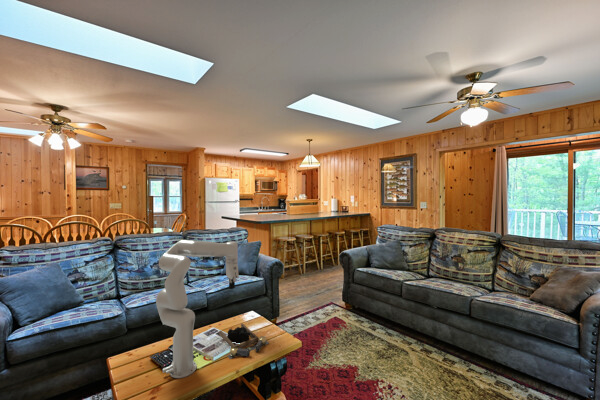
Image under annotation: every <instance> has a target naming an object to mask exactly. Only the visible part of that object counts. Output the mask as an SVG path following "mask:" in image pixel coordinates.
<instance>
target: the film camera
mask: <svg viewBox="0 0 600 400" xmlns="http://www.w3.org/2000/svg"><path fill="white" fill-rule="evenodd" d="M249 335H250V333H249V332H247V330H246V328H244V327H241V326H237V327H234V329H232V328H229V329H228V330H227V337H228V339H229V340H230V341H231V342H236V343H242V342H245V341H248V340H250V336H249Z"/></svg>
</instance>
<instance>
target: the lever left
mask: <svg viewBox="0 0 600 400" xmlns="http://www.w3.org/2000/svg"><path fill="white" fill-rule="evenodd" d="M229 348H230V347H229ZM250 352H251V351H250V349H246V348H243V349H241V348H238V347H232V348H230V349H229V355H230V356H237V355H238V356H237V357H240V356H241V357H250V355H251V353H250Z"/></svg>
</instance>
